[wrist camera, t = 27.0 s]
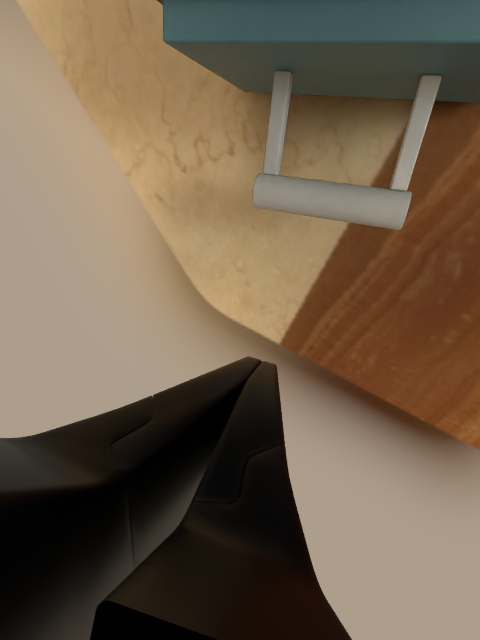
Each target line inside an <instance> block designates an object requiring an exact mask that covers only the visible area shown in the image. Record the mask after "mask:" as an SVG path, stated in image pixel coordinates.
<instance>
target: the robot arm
mask: <svg viewBox="0 0 480 640" xmlns="http://www.w3.org/2000/svg"><path fill="white" fill-rule="evenodd" d="M0 640H352V639H351V637H350V636H349V634H348V633H347V632H346V630H345V628H344V626H343V625H342V623H341V622H340V620H339V619H338V617H337V615H336V614H335V612H334V611H333V609H332V608H331V606H330V604H329V603H328V601H327V600H326V598H325V596H324V594H323V592H322V590H321V588H320V585H319V583H318V580H317V577H316V575H315V572H314V569H313V565H312V562H311V559H310V555H309V551H308V548H307V544H306V541H305V537H304V533H303V529H302V525H301V522H300V519H299V514H298V511H297V507H296V503H295V499H294V495H293V491H292V487H291V482H290V478H289V473H288V466H287V459H286V449H285V441H284V432H283V422H282V412H281V403H280V393H279V383H278V374H277V366H276V364H273V363H269V362H266V361H261V360H259V359H256V358H253V357H245V358H243V359H240V360H238V361H235V362H233V363H231V364H228V365H226V366H224V367H221V368H219V369H216V370H213V371H211V372H209V373H206V374H204V375H201V376H199V377H196V378H194V379H191V380H189V381H186V382H184V383H181V384H179V385H177V386H174V387H172V388H169V389H167V390H164V391H162V392H159V393H157V394H155V395H153V397H152V396H149V397H147V398H144V399H142V400H139V401H137V402H134V403H132V404H129V405H126V406H124V407H121V408H118V409H115V410H112V411H109V412H106V413H103V414H100V415H97V416H94V417H91V418H88V419H85V420H81V421H78V422H75V423H72V424H69V425H65V426H63V427H59V428H56V429H53V430H50V431H46V432H43V433H40V434H36V435H32V436H27V437H21V438H0Z"/></svg>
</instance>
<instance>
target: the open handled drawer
mask: <svg viewBox="0 0 480 640" xmlns="http://www.w3.org/2000/svg"><path fill="white" fill-rule="evenodd" d="M163 40H164V42H165V43H166V44H168V45H170V46H171V47H173V48H175V49H176V50H178V51H180V52H181V53H183V54H184V55H186V56H188V57H189V58H191V59H193V60H194V61H196V62H197V63H199V64H201V65H202V66H204V67H206V68H207V69H209V70H211V71H212V72H214V73H215V74H217V75H219V76H220V77H222V78H224V79H225V80H227V81H228V82H230V83H232V84H233V85H235V86H237V87H238V88H240V89H242V90H243V91H247V92H268V93H272V100H271V108H270V116H269V125H268V133H267V141H266V150H265V158H264V166H263V173H264V174H263V173H260V174H258V176H257V177H256V180H255V183H254V187H253V205H254V207H256V208H261V209H268V210H274V211H281V212H287V213H293V214H300V215H306V216H312V217H319V218H325V219H331V220H338V221H344V222H351V223H357V224H363V225H370V226H376V227H382V228H389V229H395V230H400V229H401V228H402V225H403V223H404V220H405V218H406V215H407V212H408V208H409V205H410V201H411V195H412V194H411V192H408V191H406V190H407V188H408V185H409V182H410V179H411V175H412V172H413V169H414V166H415V163H416V159H417V156H418V153H419V150H420V146H421V143H422V140H423V137H424V133H425V130H426V127H427V124H428V120H429V117H430V114H431V111H432V108H433V104H434V101H451V102H472V103H480V0H163ZM291 94H308V95H329V96H349V97H370V98H390V99H410V100H414V103H413V106H412V110H411V113H410V117H409V120H408V124H407V127H406V131H405V134H404V138H403V141H402V145H401V148H400V152H399V155H398V159H397V162H396V166H395V169H394V173H393V177H392V180H391V184H390V189H384V188H376V187H368V186H360V185H352V184H344V183H336V182H328V181H320V180H312V179H303V178H295V177H287V176H279V173H280V167H281V159H282V152H283V145H284V138H285V131H286V124H287V117H288V110H289V103H290V96H291Z"/></svg>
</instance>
